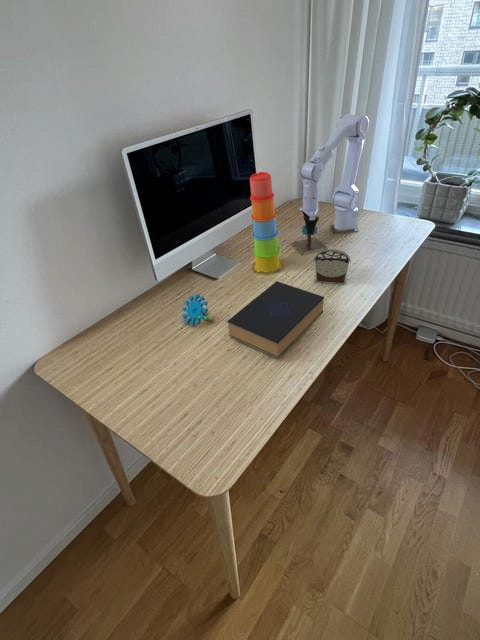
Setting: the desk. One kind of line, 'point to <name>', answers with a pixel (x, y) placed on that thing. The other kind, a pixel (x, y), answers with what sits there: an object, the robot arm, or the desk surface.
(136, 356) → the desk surface
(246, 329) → the book
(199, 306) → the blue knobbed toy
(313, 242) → the ring toss
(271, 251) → the stacking cups
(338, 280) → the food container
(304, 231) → the ring
